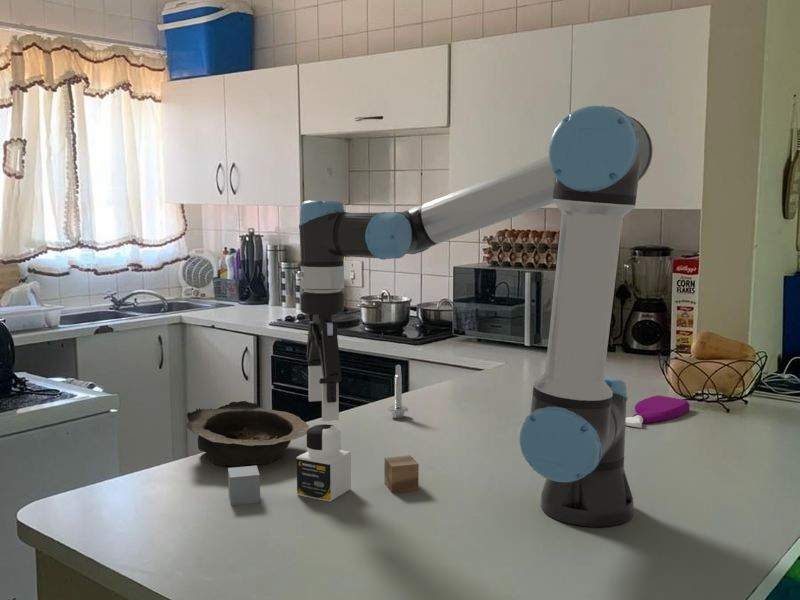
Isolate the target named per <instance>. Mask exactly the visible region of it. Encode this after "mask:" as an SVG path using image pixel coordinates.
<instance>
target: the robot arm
mask: <svg viewBox="0 0 800 600" xmlns="http://www.w3.org/2000/svg"><path fill="white" fill-rule="evenodd" d="M653 150H654V149H653V143H652V138H651V136H650V134H649V132H648V130H647V129H646V128H645V126H644V125H643V124H642V123H641V122H640V121H639V120H637V119H635V118H634V117H632V116H630V115H627V113H625V112H624V111H622V110H620V109H618V108H616V107H613V106H605V105H588V106H584V107H581V108H578V109H575V110H574V111H572V112H571V113H569V114H568V115H566V116H565V117H564V118H563V119H562V120H561V121H560V122H559V123H558V125H557V126H556V127H555V129H554V131H553V133H552V135H551V137H550V141H549V146H548V155H547V156H544V157H542V158H539V159H537V160H535V161H532V162H530V163H527V164H524V165H521V166H519V167H517V168H513V169H510V170H509V171H506V172H503V173H501V174H497V175H496V176H493V177H490V178H488V179H485V180H482V181H480V182H477V183H475V184H472V185H469V186H467V187H465V188H462V189H460V190H457V191H453V192H451V193H449V194H446V195H444V196H441V197H439V198H436V199H433V200H431V201H428V202H426V203H422V204H421V205H418V206H415V207H412V208H410V209H408V210H404V211H393V212H391V211H388V212H386V211H384V212H383V211H382V212H347V211H345V206H344V203H343V202H342V201H340V200H305V201H303V202H302V203H301V204H300V212H299V224H298V230H299V243H300V244H299V246H300V247H299V248H300V251H299V252H300V271H299V270H298V271H297V273H296V276H297V277H298V278H299V277H300V288H301V289H302V291H301V292H300V294H299V295H300V298H299V299H300V312H301V313H302V314H304V315H308V328H307V329H308V330H307V331H308V333H307V342H306V343H307V344H306V354H305V358H306V360H307V364H308V366H307V369H308V370H307V371H308V375H307V377H308V381H307V382H308V402H310V403H311V402H321V420H322V422H330V421H331V422H332V421H333V422H334V421H340V420H339V419H340V416H339V415H340V410H339V408H340V407H339V405H340V404H339V403H340V402H339V393H340V391H339V390H340V389H339V387H340V386H339V383H340V382H342V379H343V376H342V369H341V360H340V358H341V357H340V349H339V341H338V340H339V337H338V324H337V322H333V316H334V315H338V314H342V313H343V312H344V311H345V293H344V292H343V291H342V289H344V288H345V264H344V263H345V258H348V257H351V258H353V257H354V258H365V259H367V258H368V259H379V260H384V261H385V260H392V259H398V260H399V259H402V258H403V257H405V255H416V254H421V253H422V252H425V251H427V250H429V249H430V248H432V247H433V246H436V245H439V244H441V243H444V242H448V241H450V240H453V239H455V238H459V237H461V236H464V235H467V234H470V233H472V232H476V231H478V230H481V229H484V228H487V227H489V226H492V225H495V224H498V223H501V222H504V221H506V220H509V219H512V218H515V217H518V216H521V215H524V214H527V213H530V212H532V211H535V210H536V211H537V209H540V208H544V207H546V206H550V205H553V204H554V205H555V206H556V207H557V208H558V209H559V211H560V213H561V217H560V219H561V220H560V228H559V229H560V230H559V238H558V246H557V247H558V248H557V258H556V267H555V276H554V283H553V295H552V301H551V303H552V305H551V312H550V322H549V323H550V324H549V331H548V332H549V333H548V342H547V351H546V361H545V370H544V373H543V374H542V375H540V376H539V377H537V378H536V379H535V380H534V382H533V387H532V397H531V402H530V403H531V405H530V413H529V414H528V415H527V416H526V418H525V419H524V421H523V423H522V426H521V428H520V432H519V447H520V451H521V454H522V456H523V458H524V460H525V461H526V462H527V463H528V464H529V466H530V467H531V468H532V469H533V470H534V471H535V472H536V473H537V474H539V475H540V476H542V477H543V478H545V482H544V485H543V488H542V490H541V495H540V508H541V510H542V512H543V513H544V514H546V515H547V516H549V517H551V518H553V520H554V519H555V520H557V521H560V522H563V523H566V524H570V525H575V526H583V527H594V528H595V527H596V528H602V527H603V528H604V527H613V526H619V525H621V524H624V523H626V522H629V521H630V520H631V519H632V518H633V516H634V505H635V503H634V498H633V494H632V490H631V488H630V484H629V481H628V477H627V474H626V471H625V449H626V448H625V447H626V446H625V445H626V444H625V443H626V426H625V423H626V417H627V414H626V413H627V401H628V400H629V398H628V395H627V394H628V393H627V384H626V382H625V381H624V380H623V379H621V378H618V377H614V376H608V375H605V374H606V373H605V371H606V364H607V363H606V362H607V355H608V345H609V336H610V328H611V319H612V311H613V304H614V294H615V287H616V285H615V284H616V277H617V268H618V262H619V261H618V259H619V253H620V244H621V235H622V228H623V219H624V218H625V216H627V215H628V214H629V213H630V212H631V211H632V210H634V209H635V208H636V204H637V195H638V187H639V181H641V179H643V177H644V176H645V174H646V173H647V172H648V170H649V168H650V165H651V164H652V163H651V162H652V159H653Z"/></svg>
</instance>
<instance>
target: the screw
mask: <svg viewBox="0 0 800 600" xmlns="http://www.w3.org/2000/svg"><path fill="white" fill-rule="evenodd" d="M402 378H403V377H402V366H401V365H400V364H397V365H395V375H394V378H393V379H394V405H390V406H389V407H388V409H387V410H388V412H390V413H391V415H392V418H393V419H403V418H404V417H405V413H406V412H408V411H409V407H408V406H405V405H403V403H402V402H403V396H402V395H403V394H402V393H403V391H402V390H403V384H402V383H403V382H402V381H403V379H402Z"/></svg>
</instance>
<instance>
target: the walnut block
mask: <svg viewBox="0 0 800 600" xmlns="http://www.w3.org/2000/svg"><path fill="white" fill-rule="evenodd" d="M383 460H384V461H383V462H384V463H383V464H384V466H383V467H384V469H383V470H384V474H383V475H384V477H383V479H384V480H383V482H384V485H385V486H386V487H387V488H388V490H389V492H390V493H391V494H395V493H404V492H405V493H406V492H415V491H419V474H420V473H419V467H420V466H419V463H418V461H416V459H415V458H413V456H412V455H401V456H400V455H399V456H388V457H387V456H386V457H384V458H383Z"/></svg>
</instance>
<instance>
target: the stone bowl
mask: <svg viewBox="0 0 800 600" xmlns="http://www.w3.org/2000/svg"><path fill="white" fill-rule="evenodd" d="M186 418H187V423H186V428H187V429H188V430H190V432H192V433H193V434H195V435H197V449H198V450H199V451H200V452H204V453H206V454H207V455H208V457H209V459H210V460H211V462H213V464H215V465H217V466H220V467H229V466H231V467H233V468H235V467H245V466H249V465H264V466H265V465H268V464H269V465H270V463H272V462H274V461H277V460H278V459H280V458H282V457H283V456H284V453H285V451H286V449H287V448H288V447H289V445H290V443H291V442H292V441H293V440H297V439H299V438H301V437H302V438H303V437H304V436H306V435H307V430H308V429H309V428H310V425H309V424H308V423H307V422H305V420H303V419H301V418H300V416H297V415H295V414H293V413H290V412H287V411H280V410H276V409H265V408H264V407H262V406H260V405H259V404H258V403H256V402H255V403H254V402H249V401H247V400H240V401H231V402H229V404H225V405H221V406H219V407H218V408H213V407H211V408H196V409H195V410H193V411H188V412H187V413H186Z"/></svg>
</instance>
